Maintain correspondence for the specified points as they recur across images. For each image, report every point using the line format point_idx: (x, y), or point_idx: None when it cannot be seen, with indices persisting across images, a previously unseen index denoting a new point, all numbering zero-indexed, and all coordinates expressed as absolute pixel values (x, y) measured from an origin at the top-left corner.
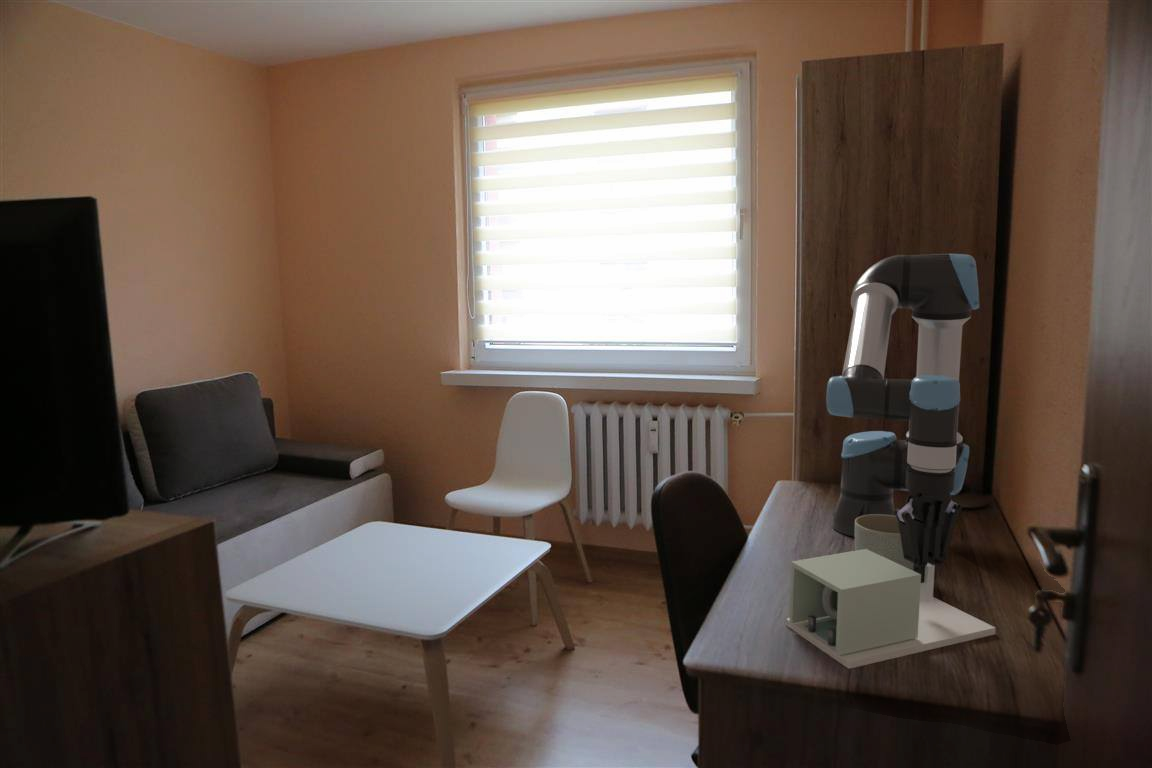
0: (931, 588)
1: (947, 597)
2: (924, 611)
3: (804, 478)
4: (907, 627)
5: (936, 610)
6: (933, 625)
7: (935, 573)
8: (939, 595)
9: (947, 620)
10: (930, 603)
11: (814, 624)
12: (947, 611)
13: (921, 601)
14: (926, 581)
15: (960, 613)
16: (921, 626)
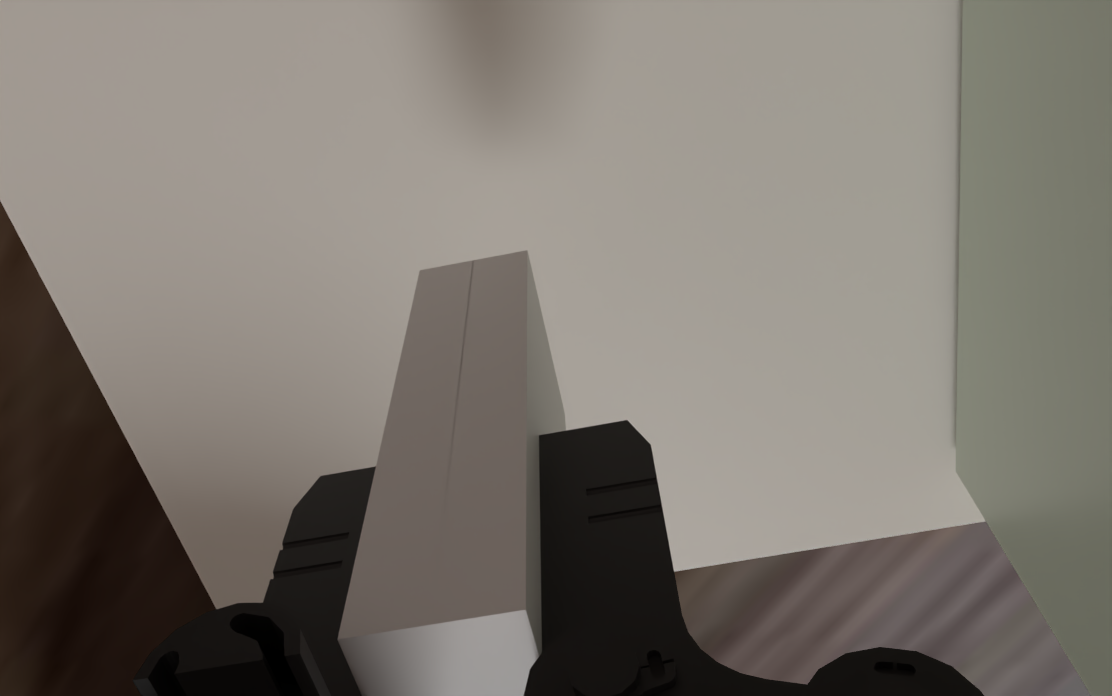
0: (434, 355)
1: (24, 576)
2: None
3: None
4: None
5: (297, 320)
6: (530, 12)
7: (292, 556)
8: (78, 611)
9: (302, 98)
10: (277, 451)
11: None
12: (194, 285)
13: None
14: (526, 421)
15: (77, 222)
16: (678, 15)
